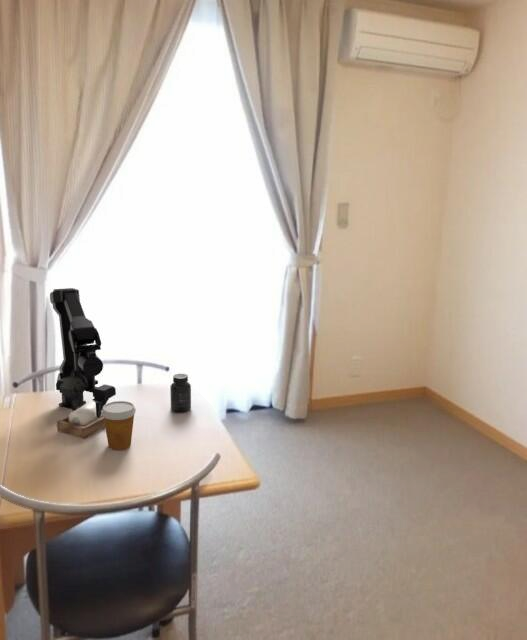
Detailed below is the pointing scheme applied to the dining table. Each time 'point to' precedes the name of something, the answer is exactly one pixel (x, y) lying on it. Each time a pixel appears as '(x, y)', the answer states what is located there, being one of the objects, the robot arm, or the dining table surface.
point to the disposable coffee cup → (118, 424)
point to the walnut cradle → (80, 427)
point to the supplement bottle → (180, 394)
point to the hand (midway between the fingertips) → (86, 414)
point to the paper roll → (84, 415)
